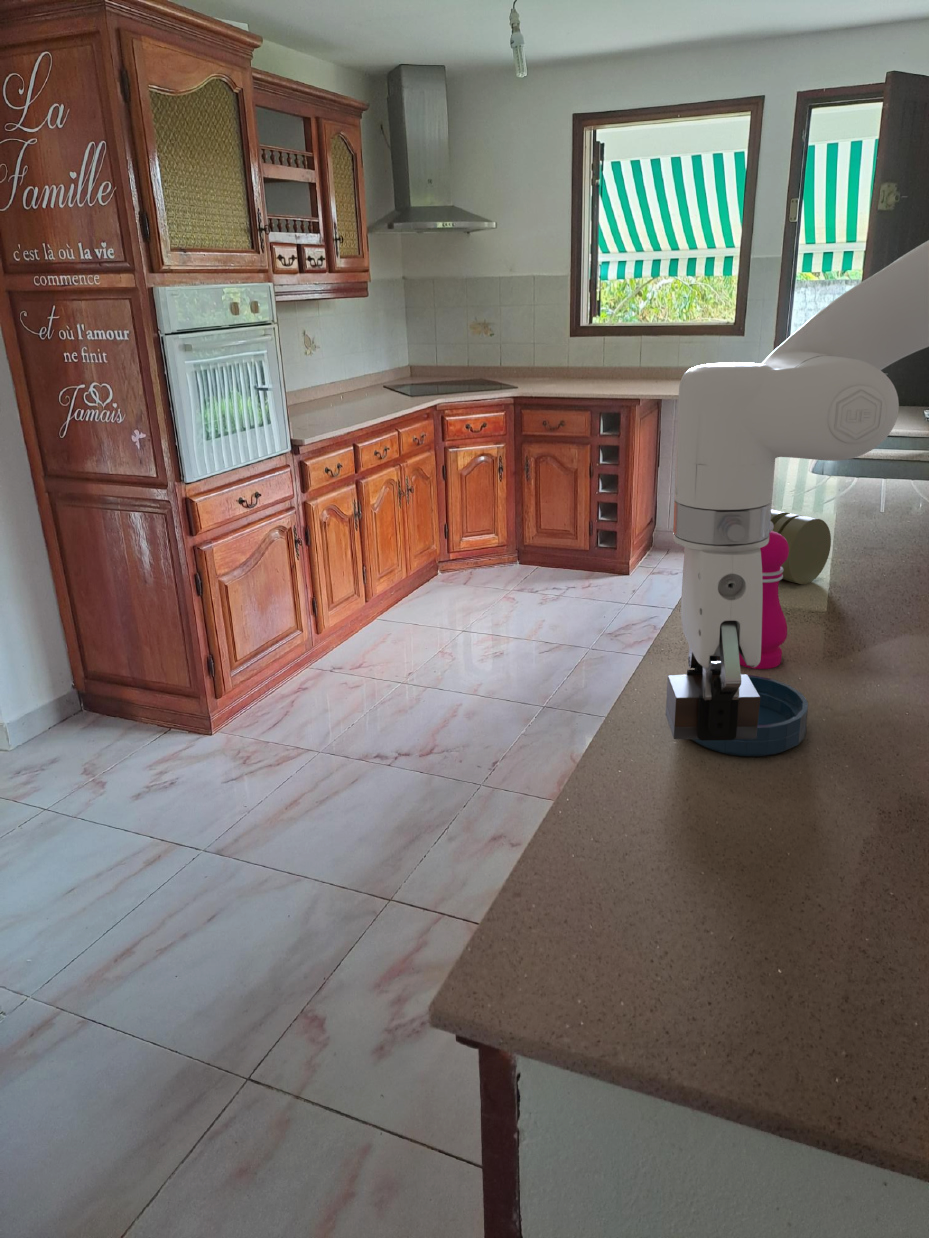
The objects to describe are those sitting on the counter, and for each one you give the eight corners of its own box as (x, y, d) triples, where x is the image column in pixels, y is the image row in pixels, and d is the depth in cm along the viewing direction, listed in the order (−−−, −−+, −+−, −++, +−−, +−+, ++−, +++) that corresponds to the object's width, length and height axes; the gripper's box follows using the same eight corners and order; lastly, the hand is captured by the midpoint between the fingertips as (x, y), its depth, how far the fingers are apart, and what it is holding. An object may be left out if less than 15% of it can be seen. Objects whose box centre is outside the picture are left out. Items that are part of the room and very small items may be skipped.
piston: (770, 561, 163) (774, 502, 159) (827, 576, 154) (833, 513, 150) (729, 574, 157) (733, 513, 153) (786, 590, 148) (791, 525, 144)
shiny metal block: (743, 714, 79) (747, 674, 78) (756, 739, 75) (760, 697, 74) (665, 714, 80) (667, 675, 78) (673, 739, 76) (675, 697, 74)
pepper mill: (751, 646, 127) (760, 510, 120) (795, 660, 121) (807, 519, 114) (719, 660, 123) (726, 520, 116) (763, 675, 117) (773, 530, 110)
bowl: (784, 701, 110) (787, 672, 108) (822, 758, 97) (825, 725, 95) (669, 704, 111) (670, 675, 109) (690, 761, 97) (692, 728, 96)
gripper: (800, 550, 63) (780, 773, 69) (743, 497, 79) (730, 683, 85) (693, 553, 63) (683, 774, 70) (658, 500, 79) (652, 684, 86)
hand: (709, 722), depth 77 cm, fingers closed on shiny metal block, 4 cm apart
